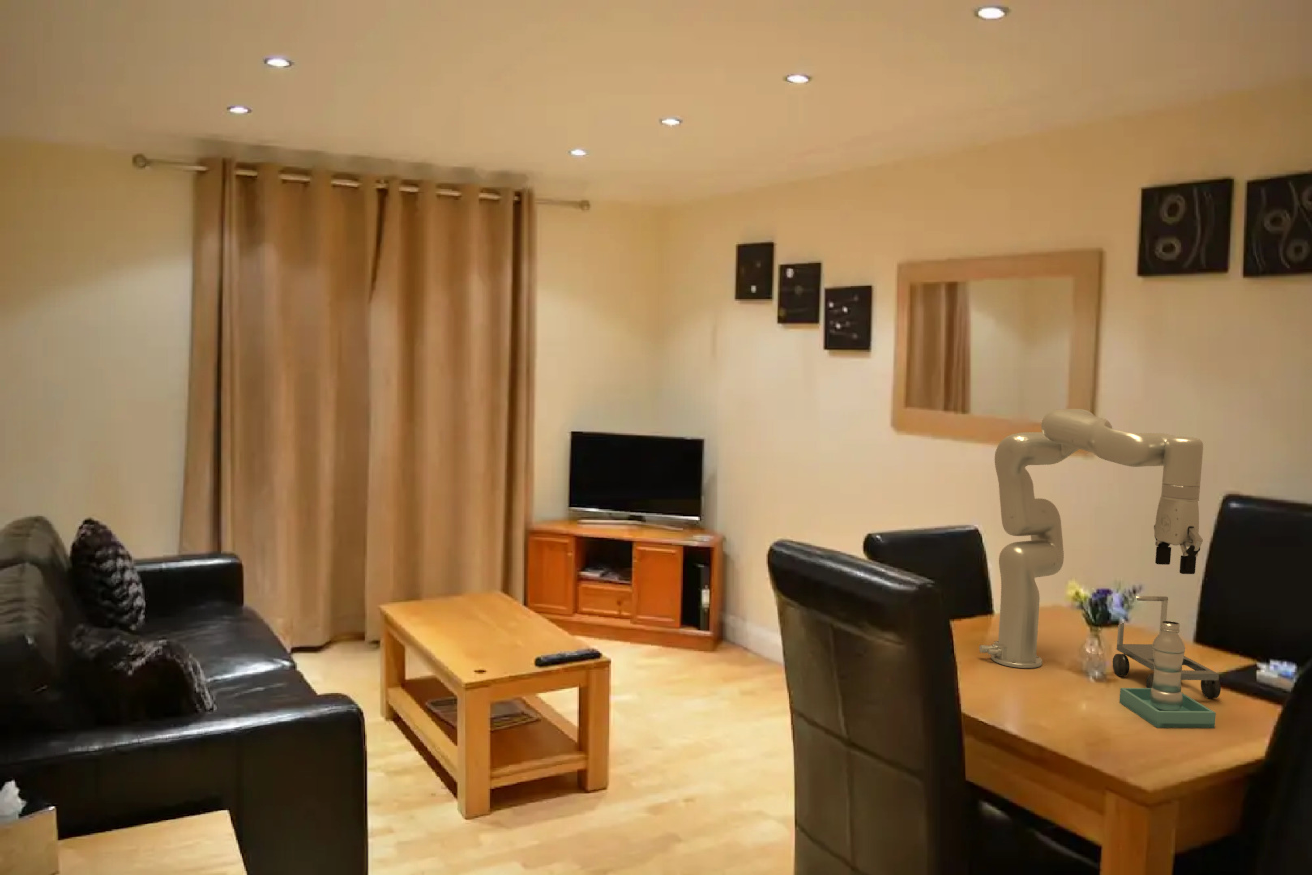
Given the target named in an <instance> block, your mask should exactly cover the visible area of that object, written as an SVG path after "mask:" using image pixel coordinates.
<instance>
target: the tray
mask: <svg viewBox="0 0 1312 875" xmlns="http://www.w3.org/2000/svg"><path fill="white" fill-rule="evenodd" d="M1150 692H1151V688H1147V687H1119V702H1118V703H1119V704H1121V705H1123V706H1124V707H1125V708H1127V709H1128V710H1130V711H1131V712H1133V713H1134V714H1135V715H1137V716H1139V717H1140V718H1141V719H1143V720H1145V721H1146V722H1147V723H1149V724H1150V725H1152V726H1153V727H1155V728H1156V729H1215V728H1216V726H1215V725H1216V717H1217V716H1216V715H1217V712H1215V711H1214V710H1213V709H1210V707H1207V706H1205V705H1204V704H1202V703H1200V702H1198V701H1197V700H1196V699H1194V698H1193V697H1192V698H1191V697H1190V696H1188V695H1186V694H1185V693H1183V692H1182V697H1183V704H1182V708H1181V709H1180V710H1179V711H1162V710H1158V709H1156V708H1154V707H1153V706H1152V705H1151V703H1150Z"/></svg>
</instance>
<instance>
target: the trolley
mask: <svg viewBox="0 0 1312 875" xmlns="http://www.w3.org/2000/svg"><path fill="white" fill-rule="evenodd" d="M1135 596H1136V598H1137V601H1136V602H1161V608H1160V609H1161V610H1160V619H1159V628H1160V627H1161V621H1167V620H1168V619H1167V616H1168V605H1169V602H1168V601H1169V597H1168V596H1162V595H1161V596H1160V595H1159V596H1155V595H1154V596H1153V595H1149V596H1148V595H1135ZM1161 631H1162V630H1160V629H1159V634H1160V633H1161ZM1124 632H1125V622H1124V623H1122V624H1120V625H1117V639H1116V650H1117V651H1118V652H1120V653H1115V654H1114V656H1113V658H1112V668H1113V672H1114V673H1115V675H1116V676H1117V677H1126V676H1128V675H1129V673H1130V669H1131V668H1130V667H1131V666H1130V660H1129V658H1130V659H1132V660H1134V661H1135V662H1138V664H1140V665H1142V666H1144V667H1146V668H1148V669H1149V670H1151V671H1153V672H1154V656H1153V643H1152V644H1151V643H1148V644H1147V643H1124V635H1125V634H1124ZM1159 634H1158V635H1159ZM1182 666H1186V667H1188V668H1190V669H1191V670H1187V669H1186V670H1183V669H1182V670H1181V681H1200V689H1201V692H1202V694H1203V696H1204V697H1205V698H1207V699H1217V698H1219V696H1220V695H1221V690H1222V688H1221V687H1222V686H1221V682H1220V680H1219V679H1220V674H1219V672H1216V671H1214V670H1212V669H1210V668H1209V667H1206V666H1205V665H1202V664H1201V663H1198V662H1197V661H1195V660H1193V659H1192V658H1189V657H1188V656H1186V655H1184V658H1183V662H1182ZM1153 677H1154V673H1149V674H1148V676H1147V677H1146V681H1145V682H1146V683H1145V685H1146V686H1145V688H1152V684H1153Z"/></svg>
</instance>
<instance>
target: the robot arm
mask: <svg viewBox="0 0 1312 875" xmlns="http://www.w3.org/2000/svg"><path fill="white" fill-rule="evenodd" d="M1040 423H1041V424H1040V426H1041V427H1040V429H1041V432H1040V431H1039V432H1037V431H1034V432H1032V431H1031V432H1029V431H1028V432H1027V431H1026V432H1025V431H1024V432H1017V433H1012V434H1010V435H1008V436H1006V437H1004V438H1003V439H1002V440H1001V441H1000V442H999V444H998V445H997V447H996V450H995V452H994V467H995V472H996V476H997V482H998V488H999V489H998V492H999V494H998V495H999V503H1000V506H999V507H1000V515H1001V524H1002V528H1003V530H1004V531H1005V533H1006V534H1008V535H1010V536H1014V537H1027V536H1028V537H1029V536H1030V540H1024V541H1015V542H1011V543H1009V544H1007V545H1005V546H1004V547H1003V548H1002V550H1001V551H1000V553H999V557H998V566H999V574H1000V605H999V606H1000V608H999V621H998V622H999V624H998V640H995V641H994V643H993V644H991V645H986V644H980V645H979V653H981V654H982V653H984V654H985V653H986V654H988V655H991V656H990V659H991V660H992V661H993V662H995V663H996V664H1000V665H1003V666H1005V667H1011V668H1019V669H1034V668H1039V667H1041V666H1042V665H1043V659H1042V658H1041V656H1038V655H1037V651H1038V650H1037V649H1038V632H1039V630H1038V629H1039V619H1040V618H1039V617H1040V601H1041V600H1040V599H1041V598H1040V597H1041V596H1040V591H1039V588H1038V586H1037V583H1036V578H1041V577H1049V576H1052V575H1056V574H1057V573H1058V572H1060V571H1061V570H1062V567H1063V565H1064V558H1065V557H1064V554H1065V552H1064V551H1065V550H1064V543H1063V530H1062V529H1063V528H1062V520H1061V515H1060V512H1059V510H1058V508H1057V506H1056V505H1055V504H1054V503H1053V502H1052V501H1050V500H1049V499H1046V498H1036V496H1035V490H1034V483H1033V480H1032V477H1031V474H1030V473H1029V471H1028V470H1027V469H1026V467H1028V466H1044V465H1045V466H1046V465H1047V466H1048V465H1050V466H1051V465H1055V464H1058V463H1060V462H1062V461H1064V460H1065V459H1067V458H1068V457H1070V456H1072V455H1073V454H1074V453H1075V452H1077V451H1079V450H1082V451H1084V452H1089V453H1092V454H1094V456H1096V457H1097V458H1099V459H1102V460H1104V461H1108V462H1111V463H1116V464H1118V465H1122V466H1127V467H1132V468H1140V467H1162V468H1163V469H1162V481H1161V482H1162V483H1161V494H1160V498H1159V500H1158V501H1159V502H1158V505H1157V510H1156V516H1155V522H1154V525H1153V529H1154V530H1153V531H1154V533H1153V534H1154V538H1155V548H1156V549H1155V564H1156V565H1164V566H1165V565H1167V566H1168V565H1171V558H1172V557H1171V556H1172V546H1179V547H1180V549H1181V552H1182V555H1180V559H1179V560H1180V561H1179V574H1181V575H1195V574H1196V568H1197V567H1196V565H1197V564H1196V563H1197V557H1198V555H1199V552H1200V550H1201V546H1202V544H1203V537H1201V535H1200V534H1199V532H1200V531H1199V530H1200V510H1199V508H1200V507H1199V501H1200V492H1201V491H1200V490H1201V480H1202V469H1203V468H1202V466H1203V465H1202V464H1203V453H1204V442H1203V441H1202V440H1201V439H1200V438H1197V437H1190V436H1175V435H1171V434H1169V433H1164V432H1153V433H1152V432H1143V433H1142V432H1140V433H1137V432H1135V433H1134V432H1129V431H1122V430H1119V429H1114V428H1113V425H1112V424H1111V422H1110V421H1109V420H1108V419H1106V418H1103V417H1098V416H1095V414H1094V413H1092V412H1091V411H1089V410H1088V409H1082V408H1058V409H1053V410H1051V411H1049V412H1047V413H1046V414H1045V415H1044V416H1043V418H1042V420H1041V422H1040ZM1171 545H1172V546H1171ZM1187 547H1188V548H1187Z"/></svg>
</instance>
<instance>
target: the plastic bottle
mask: <svg viewBox="0 0 1312 875" xmlns="http://www.w3.org/2000/svg"><path fill="white" fill-rule="evenodd" d="M1160 630H1162V631H1161V633H1160V634H1158V635H1157V636H1155V638H1154V639H1153V641H1152V644H1153V656H1154V671H1153V674H1154V677H1153V684H1152V688H1151V692H1150V703H1151V705H1152V706H1153V707H1154V708H1156V709H1158V710H1162V711H1179V710H1180V709H1181V708H1182V704H1183V697H1182V693H1183V692H1182V680H1181V670H1183V665H1182V662H1183V658H1184V656H1185V651H1186V647H1185V643H1184V641H1183V639H1182V638H1181V636H1180V635H1179V633H1180V631H1181V629H1180V622H1177V621H1173V620H1166V621H1161V627H1160V626H1159V631H1160Z"/></svg>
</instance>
